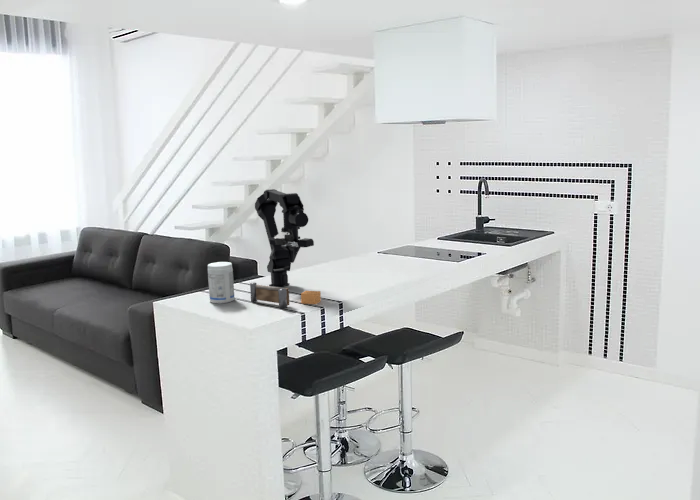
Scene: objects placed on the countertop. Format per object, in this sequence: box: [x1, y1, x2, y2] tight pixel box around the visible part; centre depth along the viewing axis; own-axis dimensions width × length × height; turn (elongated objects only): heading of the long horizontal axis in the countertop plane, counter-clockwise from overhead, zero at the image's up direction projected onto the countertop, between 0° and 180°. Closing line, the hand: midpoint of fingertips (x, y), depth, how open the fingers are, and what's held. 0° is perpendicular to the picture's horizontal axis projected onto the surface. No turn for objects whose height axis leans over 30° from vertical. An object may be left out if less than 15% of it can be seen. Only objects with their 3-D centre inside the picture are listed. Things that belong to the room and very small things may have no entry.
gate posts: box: [249, 282, 288, 310], centre depth 247 cm, size 19×3×7 cm, turn 48°
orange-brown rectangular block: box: [300, 290, 322, 305], centre depth 250 cm, size 6×5×4 cm
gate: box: [256, 284, 290, 307], centre depth 247 cm, size 15×1×6 cm, turn 57°
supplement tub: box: [207, 261, 235, 304], centre depth 254 cm, size 10×10×15 cm
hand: (292, 262), depth 267 cm, fingers closed
